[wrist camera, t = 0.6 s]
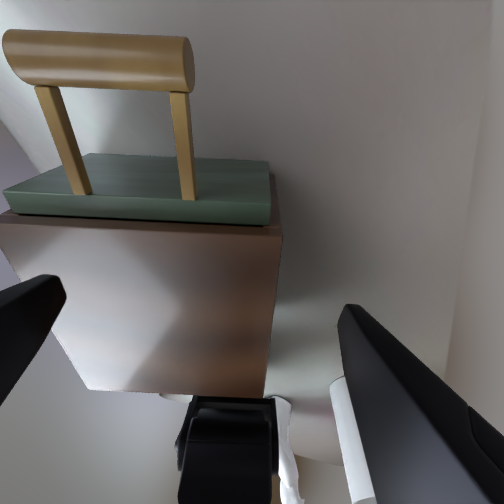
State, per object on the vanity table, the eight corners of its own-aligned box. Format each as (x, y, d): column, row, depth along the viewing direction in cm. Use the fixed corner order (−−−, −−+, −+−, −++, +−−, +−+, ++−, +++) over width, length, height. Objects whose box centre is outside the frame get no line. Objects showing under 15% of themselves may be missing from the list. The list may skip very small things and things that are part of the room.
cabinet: (93, 165, 19) (-18, 222, 12) (274, 174, 19) (283, 237, 12) (136, 303, 28) (88, 390, 20) (262, 310, 28) (263, 399, 20)
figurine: (294, 415, 41) (304, 522, 31) (245, 415, 42) (240, 520, 32) (295, 391, 37) (307, 506, 27) (240, 391, 37) (233, 504, 27)
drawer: (57, 47, 15) (-114, 20, 8) (275, 57, 15) (287, 38, 8) (133, 294, 26) (88, 369, 19) (258, 300, 25) (257, 378, 19)
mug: (329, 400, 38) (353, 514, 28) (324, 376, 34) (350, 496, 24) (400, 393, 36) (453, 511, 26) (403, 367, 33) (465, 492, 23)
